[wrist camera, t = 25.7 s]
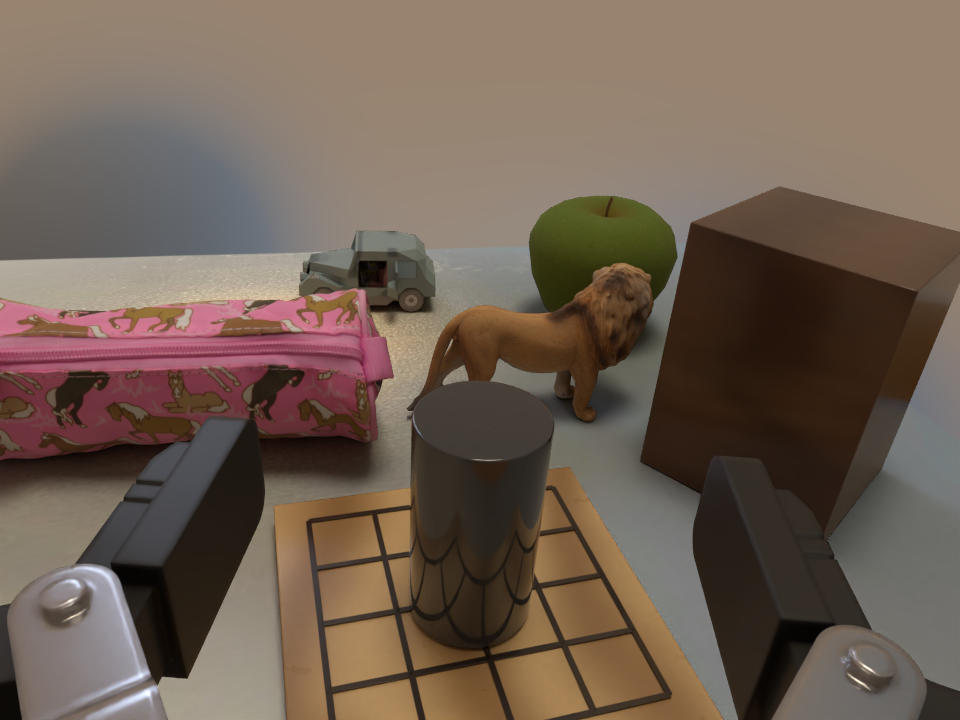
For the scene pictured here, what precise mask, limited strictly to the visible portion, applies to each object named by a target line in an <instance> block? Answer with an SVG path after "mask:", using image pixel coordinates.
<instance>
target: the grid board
mask: <svg viewBox="0 0 960 720" xmlns="http://www.w3.org/2000/svg"><path fill="white" fill-rule="evenodd" d="M274 521H275V537H276V554H277V570H278V586H279V603H280V619H281V635H282V651H283V668H284V684H285V700H286V717H287V720H724V719H723V718H722V716H721V714H720V713H719V711H718V709H717V708H716V706H715V705H714V703H713V701H712V700H711V698H710V696H709V695H708V693H707V691H706V690H705V688H704V687H703V685H702V683H701V682H700V680H699V678H698V677H697V675H696V673H695V672H694V670H693V669H692V667H691V665H690V664H689V662H688V660H687V659H686V657H685V655H684V654H683V652H682V651H681V649H680V647H679V646H678V644H677V642H676V641H675V639H674V637H673V636H672V634H671V633H670V631H669V629H668V628H667V626H666V624H665V623H664V621H663V619H662V618H661V616H660V615H659V613H658V611H657V610H656V608H655V606H654V605H653V603H652V601H651V600H650V598H649V597H648V595H647V593H646V592H645V590H644V588H643V587H642V585H641V583H640V582H639V580H638V579H637V577H636V575H635V574H634V572H633V570H632V569H631V567H630V565H629V564H628V562H627V561H626V559H625V557H624V556H623V554H622V552H621V551H620V549H619V547H618V546H617V544H616V543H615V541H614V539H613V538H612V536H611V534H610V533H609V531H608V529H607V528H606V526H605V525H604V523H603V521H602V520H601V518H600V516H599V515H598V513H597V511H596V510H595V508H594V507H593V505H592V503H591V502H590V500H589V498H588V497H587V495H586V493H585V492H584V490H583V489H582V487H581V485H580V484H579V482H578V480H577V479H576V477H575V475H574V474H573V472H572V471H571V469H570V467H564V468H556V469H549V470H548V477H547V484H546V491H545V499H544V506H543V513H542V521H541V528H540V535H539V543H538V550H537V557H536V565H535V572H534V579H533V586H532V594H531V601H530V608H529V613H528V616H527V618H526V620H525V622H524V624H523V625H522V626H521V628H520V629H519V630H518V631H517V632H516V633H515V634H514V635H512V636H511V637H510V638H508V639H507V640H505V641H503V642H501V643H498V644H496V645H493V646H489V647H484V648H473V649H469V648H459V647H454V646H450V645H447V644H444V643H442V642H440V641H437V640H436V639H434V638H432V637H431V636H429V635H428V634H427V633H425V632H424V631H423V630H422V629H421V628H420V627H419V625H418V624H417V623H416V621H415V620H414V618H413V616H412V614H411V611H410V609H409V603H408V579H409V528H410V488H405V489H397V490H390V491H382V492H374V493H367V494H359V495H352V496H344V497H337V498H329V499H321V500H314V501H306V502H299V503H291V504H283V505H276V506H274Z"/></svg>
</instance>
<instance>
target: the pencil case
mask: <svg viewBox="0 0 960 720" xmlns="http://www.w3.org/2000/svg"><path fill="white" fill-rule="evenodd" d="M388 378H394V375H393V370H392V366H391V361H390V357H389V352H388V348H387V341H386V337H380V335H379V333H378V331H377V329H376V327H375V324H374V321H373V318H372V315H371V312H370V305H369V298H368V295H367V293H366V291H365V290H363V289H362V290H359V289H357V288H353V289H350V290H347V291H336V292H334V293H331V294H312V295H307V296H303V297H300V298H296V299H293V300H289V301H283V300H217V301H202V302H190V303H177V304H168V305H161V306H154V307H137V308H126V309H117V310H111V311H78V310H58V309H46V308H42V307H38V306H34V305H30V304H25V303H20V302H16V301H11V300H7V299H2V298H0V460H3V459H8V458H23V459H32V458H42V457H48V456H57V455H65V454H69V453H73V452H93V451H98V450H102V449H106V448H109V447H112V446H114V445H117V444H141V445H146V444H164V443H173V442H181V441H190V440H192V439H193V438H194V436H195V435H196V433H197V432H198V430H199V429H200V427H201V426H202V424H203V423H204V421H205V420H206V419H207V418H208V417H209V416H223V417H236V418H249V419H254V420H255V422H256V424H257V428H258V435H259V438H283V437H292V438H298V437H306V436H320V437H327V436H345V437H349V438H352V439H356V440H359V441H362V442H368V441H374V440H376V439H377V437H378V430H377V428H378V427H377V420H376V406H375V400H376V398H377V396H378V394H379V391H380V389H381V385H382V380H383V379H388Z"/></svg>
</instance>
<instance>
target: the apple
mask: <svg viewBox="0 0 960 720" xmlns="http://www.w3.org/2000/svg"><path fill="white" fill-rule="evenodd" d="M529 248H530V258H531V268H532V275H533V277H534V280H535V283H536V285H537V288H538V291H539V293H540V296H541V299H542V301H543V304H544V306H545V307H546V308H547V310H548V311H549V312H550V313H551V312H554V311H557V310H559V309H560V308H562V307H563V306H564V305H565V304H567V303H570V302H571V301H573V300H574V297H575V295H576V294H577V293H579V292H581V291H583V290H584V289H585V288H586V287H588V286H589V285H590V284H592V283H593V273H594V272H595V271H597V270H601V269H602V268H603V267H611V266H612V265H613V264H617V263H626V264H628V265H631V266H633V267H635V268H640V269H641V270H642V271H644V272H645V274H649V275H650V276H651V284H650V288H651V292H652V297H653V301H654V300H655V299H656V298H657V297H658V295H659V294H660V293H661V292H662V290H663V289H664V288H665V286H666V284H667V281H668V279H669V277H670V274H671V272H672V269H673V267H674V265H675V262H676V260H677V250H676V243H675V237H674V233H673V231H672V229H671V227H670V226H669V225H668V224H667V223H666V222H665V221H664V220H663V219H662V218H661V217H660V216H659V215H658V214H657V213H656V212H655V211H653V210H652V209H651V208H650V207H648V206H646V205H644V204H641V203H639V202H637V201H634V200H630V199H626V198H622V197H616V196H590V197H579V198H574V199H570V200H566V201H563V202H561V203H559V204H557V205H555V206H553V207H551V208H550V209H548V210H547V211H546V212H544V213H543V214H542V215H541V216H540V218H539V220H538V221H537V223H536V224H535V226H534V228H533V230H532V231H531V233H530V240H529Z"/></svg>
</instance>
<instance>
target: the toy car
mask: <svg viewBox="0 0 960 720" xmlns="http://www.w3.org/2000/svg"><path fill="white" fill-rule="evenodd" d="M300 280H301V282H300V285H299V295H300V296H307V295H311V294H312V293H313V294H331V293H334V292H336V291H347V290H350V289H353V288H357V289H359V290H362V289H363V290H365V291H366V293H367V295H368V298H369V305H388V304H389V303H390V302H392V301H399V305H400V306H401V307H402V309H404V310H406V311H410V312H412V311H416V310H418V309H420V307H421V306H422V305H423V302H424V298H425V297H435V272H434V266H433V261H432V260H431V259H430V258H429V257H428V256H427V255H426V254H425V247H424V243H423V242H422V241H421V240H420V239H419V238H417V237H416V235H413V234H408V233H402V232H397V231H356V235H355V238H354V240H353V243H352V246H351V248H347V249H341V250H334V251H328V252H322V253H316V254H311V256H310V259H309V260H308V261H303V272H301V273H300Z"/></svg>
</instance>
